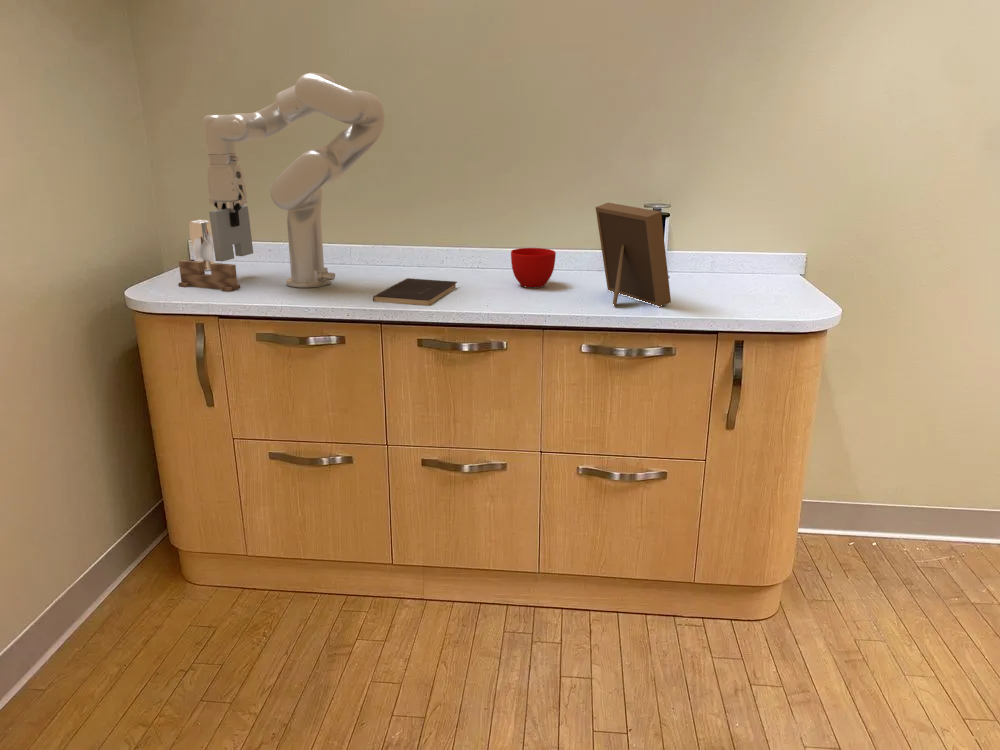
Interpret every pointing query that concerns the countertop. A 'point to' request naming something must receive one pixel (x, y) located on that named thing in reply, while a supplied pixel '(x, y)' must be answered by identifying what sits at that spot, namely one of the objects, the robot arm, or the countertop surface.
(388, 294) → the hardcover book
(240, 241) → the gray square panel
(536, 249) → the ceramic cup
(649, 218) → the photo frame
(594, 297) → the countertop surface
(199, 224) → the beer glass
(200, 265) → the walnut slotted plate
